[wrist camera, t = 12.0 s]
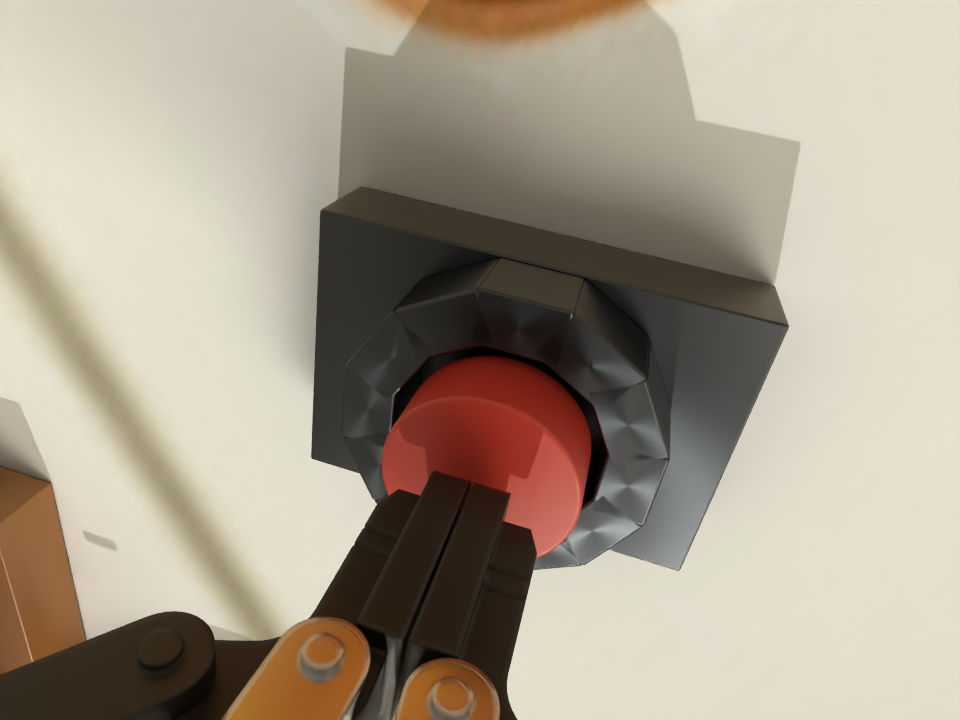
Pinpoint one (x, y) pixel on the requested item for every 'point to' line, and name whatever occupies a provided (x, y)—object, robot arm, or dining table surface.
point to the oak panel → (33, 575)
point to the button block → (544, 354)
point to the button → (497, 441)
